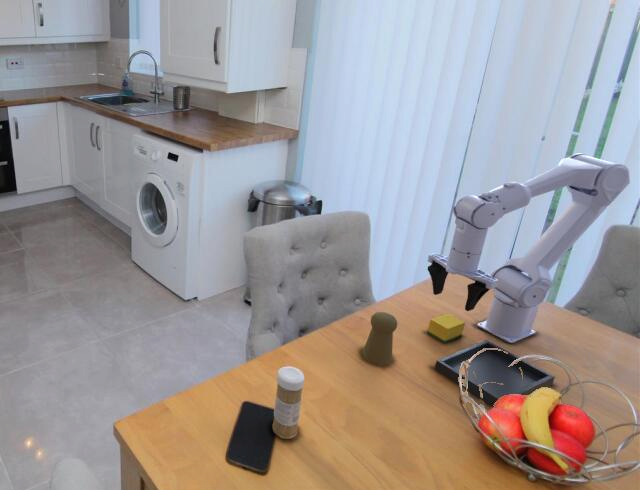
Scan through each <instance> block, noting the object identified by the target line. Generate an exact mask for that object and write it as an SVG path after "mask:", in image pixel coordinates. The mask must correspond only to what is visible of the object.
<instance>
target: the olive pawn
mask: <svg viewBox="0 0 640 490" xmlns="http://www.w3.org/2000/svg"><path fill="white" fill-rule="evenodd" d="M370 325H371V329H370V332H369V334H368V337H367V339H366V342H365V345H364V348H363V350H362V357H363V358H364V359H365V360H366V361H368V362H369V363H371V364H373V365H377V366H382V367H383V366H388V365H391V364H392V361H393V341H394V340H393V339H394V332H396V330H397V328H398V320H397V319H396V317H395V316H394V315H392V314H391V313H389V312H385V311H377V312H375V313H373V314H372V316H371V317H370Z"/></svg>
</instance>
